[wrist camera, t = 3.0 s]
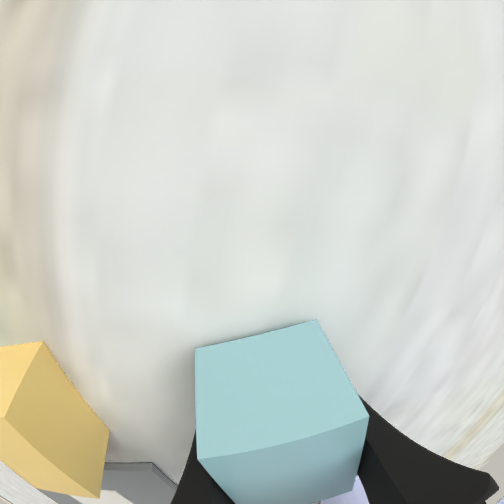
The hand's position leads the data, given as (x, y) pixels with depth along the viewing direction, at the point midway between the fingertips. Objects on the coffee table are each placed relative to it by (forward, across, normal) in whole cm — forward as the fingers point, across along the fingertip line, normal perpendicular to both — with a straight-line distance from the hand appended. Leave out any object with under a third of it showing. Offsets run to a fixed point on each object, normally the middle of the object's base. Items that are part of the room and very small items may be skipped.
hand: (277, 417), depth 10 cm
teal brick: (+2, 0, 0) cm, 2 cm away
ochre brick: (+2, +11, -1) cm, 11 cm away
